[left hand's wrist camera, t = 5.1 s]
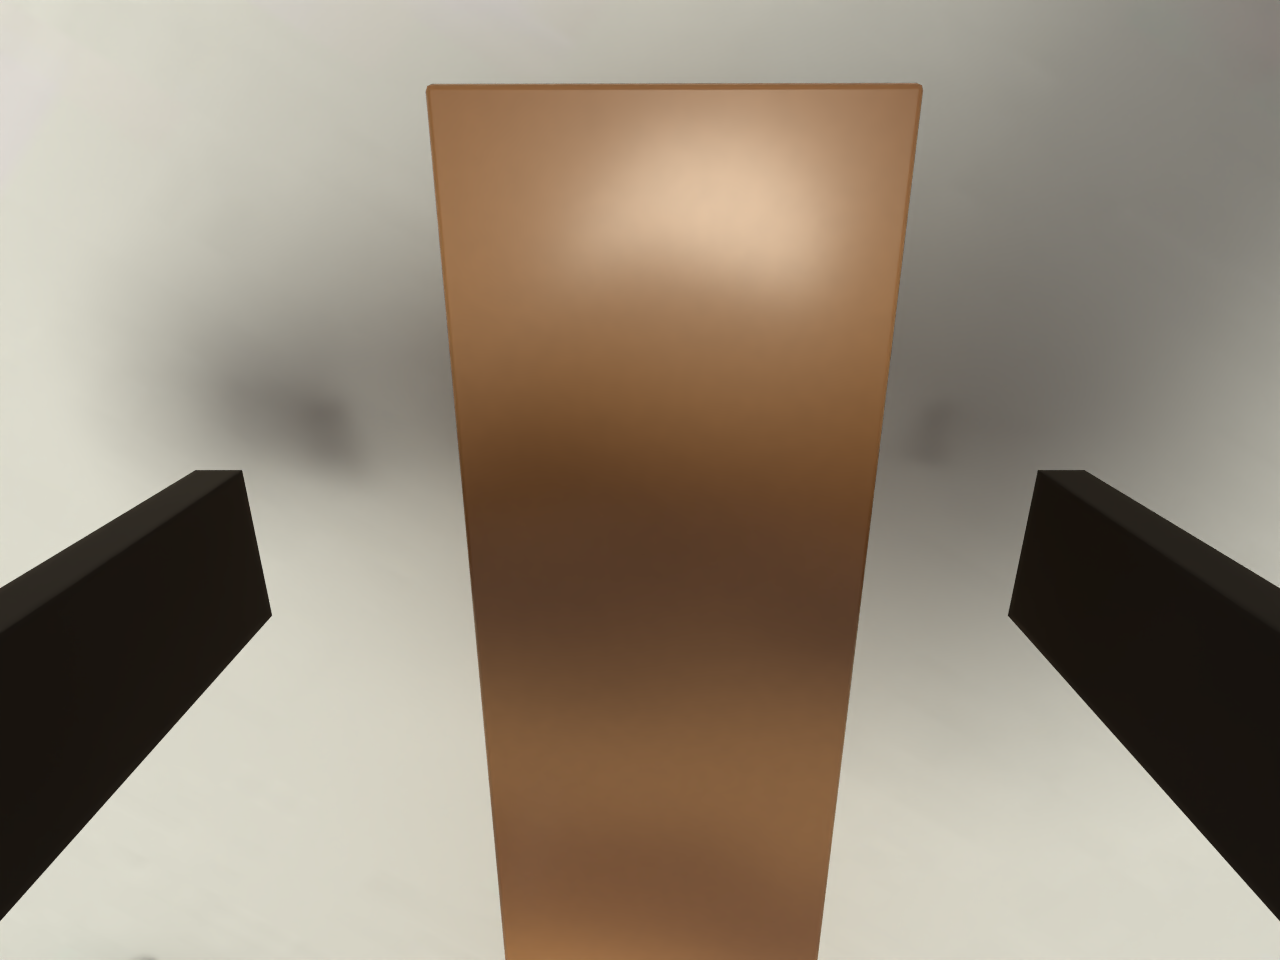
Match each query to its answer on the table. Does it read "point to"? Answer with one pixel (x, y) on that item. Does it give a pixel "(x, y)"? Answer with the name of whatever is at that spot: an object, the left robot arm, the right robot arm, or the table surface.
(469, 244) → the bar
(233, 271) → the table surface
